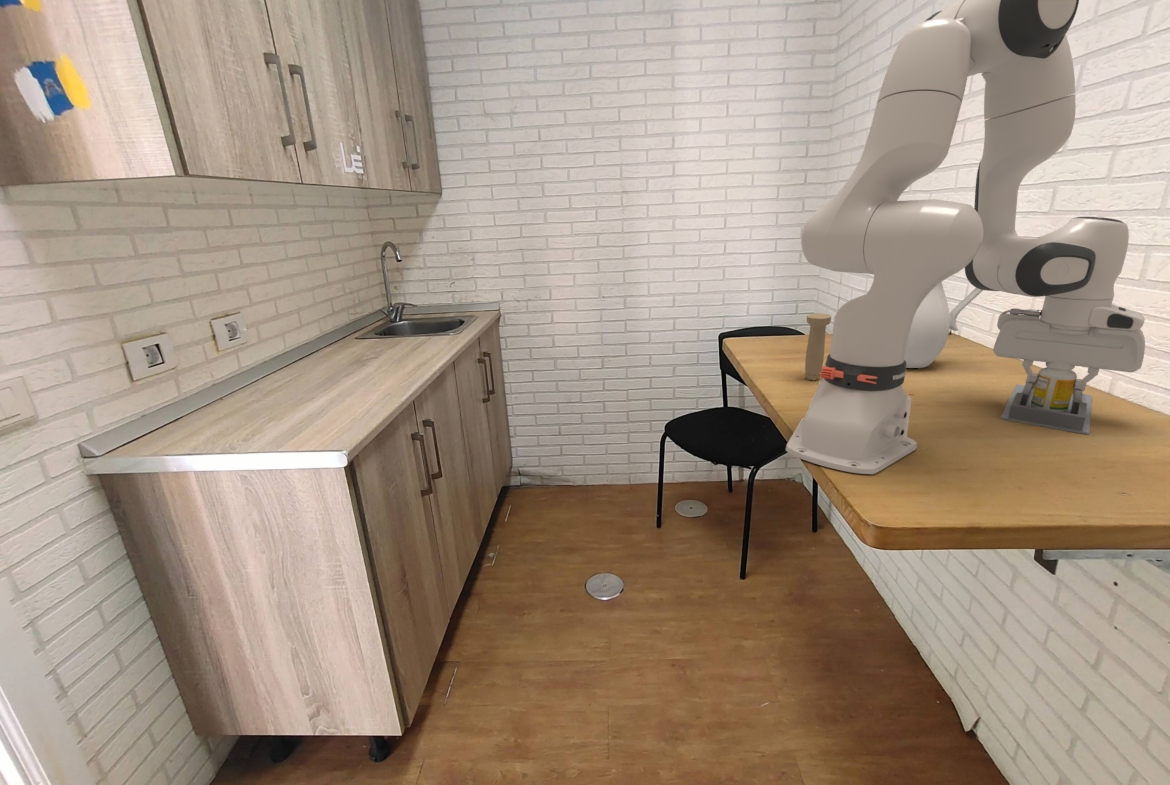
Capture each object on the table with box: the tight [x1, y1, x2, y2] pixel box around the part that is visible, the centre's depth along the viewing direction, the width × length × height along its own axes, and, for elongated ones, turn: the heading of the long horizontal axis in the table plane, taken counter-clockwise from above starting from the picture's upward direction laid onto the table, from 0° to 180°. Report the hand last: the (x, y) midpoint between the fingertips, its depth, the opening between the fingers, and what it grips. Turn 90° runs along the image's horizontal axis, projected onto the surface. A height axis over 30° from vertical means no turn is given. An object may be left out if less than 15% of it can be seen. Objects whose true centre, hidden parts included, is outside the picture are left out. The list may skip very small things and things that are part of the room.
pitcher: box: [904, 281, 984, 369], centre depth 126 cm, size 24×17×28 cm
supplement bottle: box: [1031, 361, 1078, 412], centre depth 97 cm, size 5×5×10 cm
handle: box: [804, 312, 832, 381], centre depth 120 cm, size 5×6×15 cm
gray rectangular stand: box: [1000, 382, 1093, 436], centre depth 100 cm, size 24×12×3 cm, turn 137°
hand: (1054, 386), depth 97 cm, fingers closed on supplement bottle, 5 cm apart
